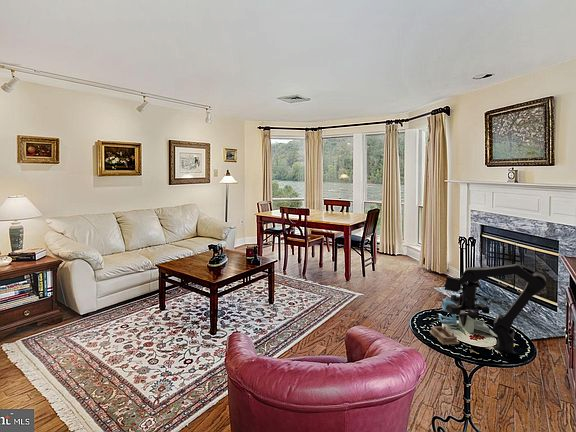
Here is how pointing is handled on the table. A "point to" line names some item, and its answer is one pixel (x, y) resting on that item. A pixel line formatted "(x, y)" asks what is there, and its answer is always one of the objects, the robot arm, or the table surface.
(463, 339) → the table surface
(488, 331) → the metal bracket
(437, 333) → the brown rectangular tray
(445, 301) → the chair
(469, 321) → the pale rectangular block
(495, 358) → the table surface
